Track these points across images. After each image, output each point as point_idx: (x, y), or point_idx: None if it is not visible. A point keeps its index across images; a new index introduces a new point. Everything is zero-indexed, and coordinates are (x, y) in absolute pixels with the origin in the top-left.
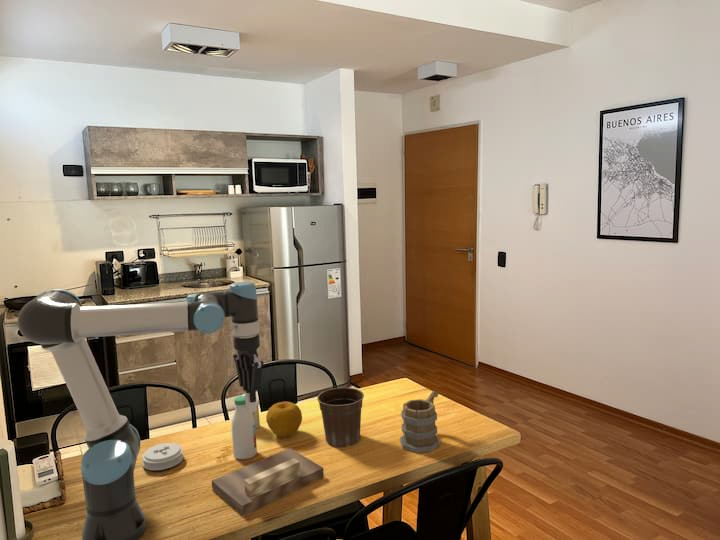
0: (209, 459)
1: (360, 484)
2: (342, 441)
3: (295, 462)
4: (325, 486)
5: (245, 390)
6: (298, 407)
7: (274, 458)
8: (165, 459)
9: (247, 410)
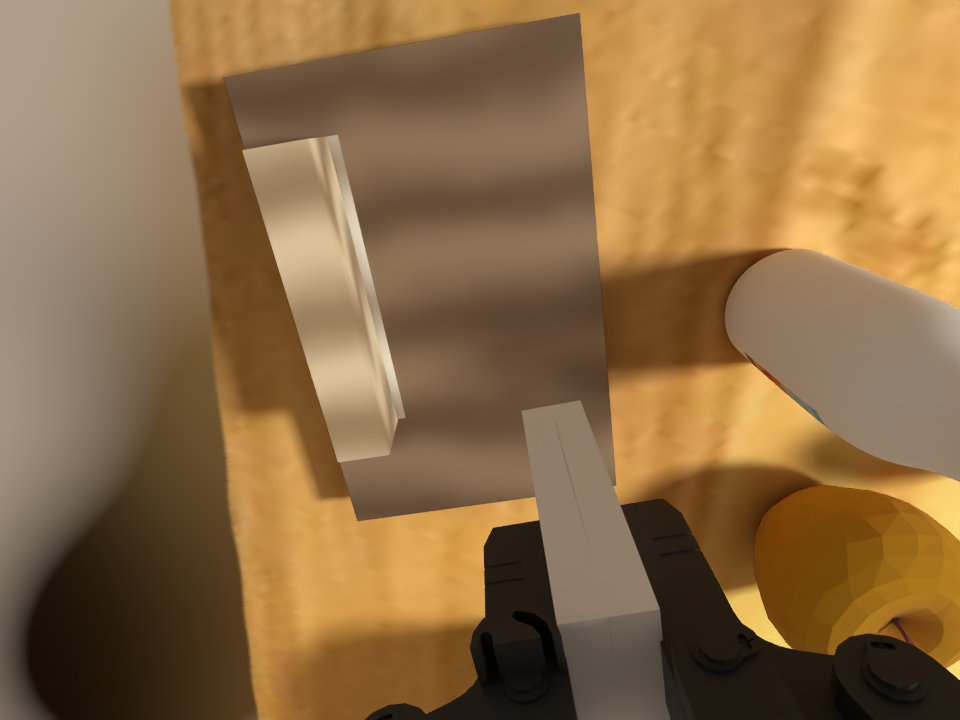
0: (890, 121)
1: (242, 567)
2: None
3: (341, 444)
4: (294, 470)
5: (702, 628)
6: None
7: (572, 392)
8: None
9: (555, 419)
